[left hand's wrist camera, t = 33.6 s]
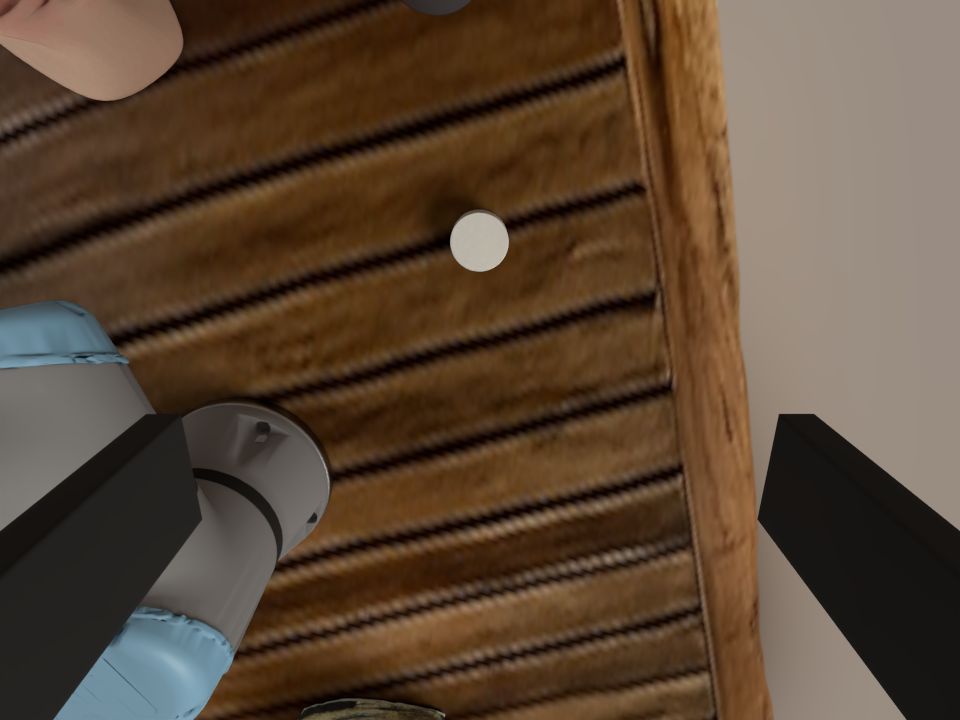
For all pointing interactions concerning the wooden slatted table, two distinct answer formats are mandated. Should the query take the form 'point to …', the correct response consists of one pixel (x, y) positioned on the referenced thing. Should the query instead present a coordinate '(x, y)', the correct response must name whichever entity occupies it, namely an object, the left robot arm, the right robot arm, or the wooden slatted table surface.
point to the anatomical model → (94, 42)
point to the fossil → (368, 711)
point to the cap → (479, 240)
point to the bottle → (436, 6)
